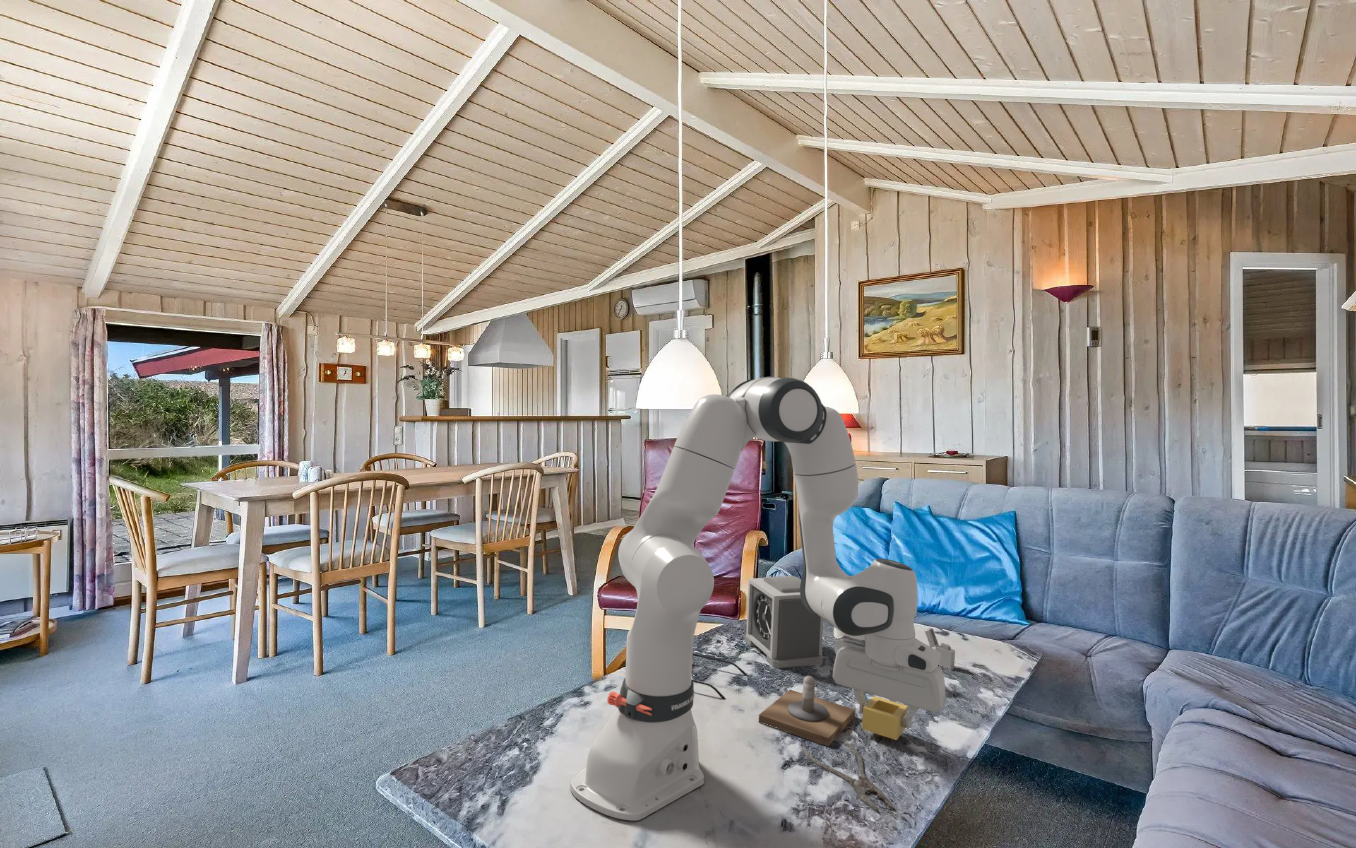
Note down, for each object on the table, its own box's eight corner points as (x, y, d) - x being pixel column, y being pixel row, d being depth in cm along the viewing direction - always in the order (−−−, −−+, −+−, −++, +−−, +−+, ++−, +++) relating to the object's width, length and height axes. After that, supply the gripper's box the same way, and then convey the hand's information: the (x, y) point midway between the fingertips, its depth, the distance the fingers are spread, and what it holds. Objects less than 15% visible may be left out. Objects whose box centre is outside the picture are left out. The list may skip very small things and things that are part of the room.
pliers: (839, 736, 121) (924, 796, 103) (839, 740, 121) (924, 801, 103) (797, 747, 117) (878, 811, 99) (797, 751, 117) (877, 817, 99)
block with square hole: (896, 740, 119) (898, 718, 119) (861, 729, 122) (863, 708, 122) (906, 726, 124) (907, 706, 124) (872, 716, 128) (874, 696, 127)
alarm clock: (743, 640, 169) (746, 569, 169) (789, 636, 173) (792, 567, 173) (774, 669, 152) (778, 590, 151) (825, 664, 156) (828, 587, 155)
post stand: (828, 746, 118) (830, 699, 118) (758, 722, 126) (760, 678, 126) (854, 716, 130) (856, 674, 129) (789, 696, 138) (791, 656, 137)
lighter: (954, 668, 156) (956, 635, 156) (951, 670, 155) (952, 636, 154) (926, 658, 161) (928, 626, 161) (922, 660, 160) (924, 627, 160)
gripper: (829, 637, 126) (825, 708, 126) (941, 666, 114) (937, 744, 115) (841, 629, 131) (837, 697, 132) (950, 655, 120) (945, 730, 120)
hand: (884, 719), depth 123 cm, fingers closed on block with square hole, 6 cm apart
